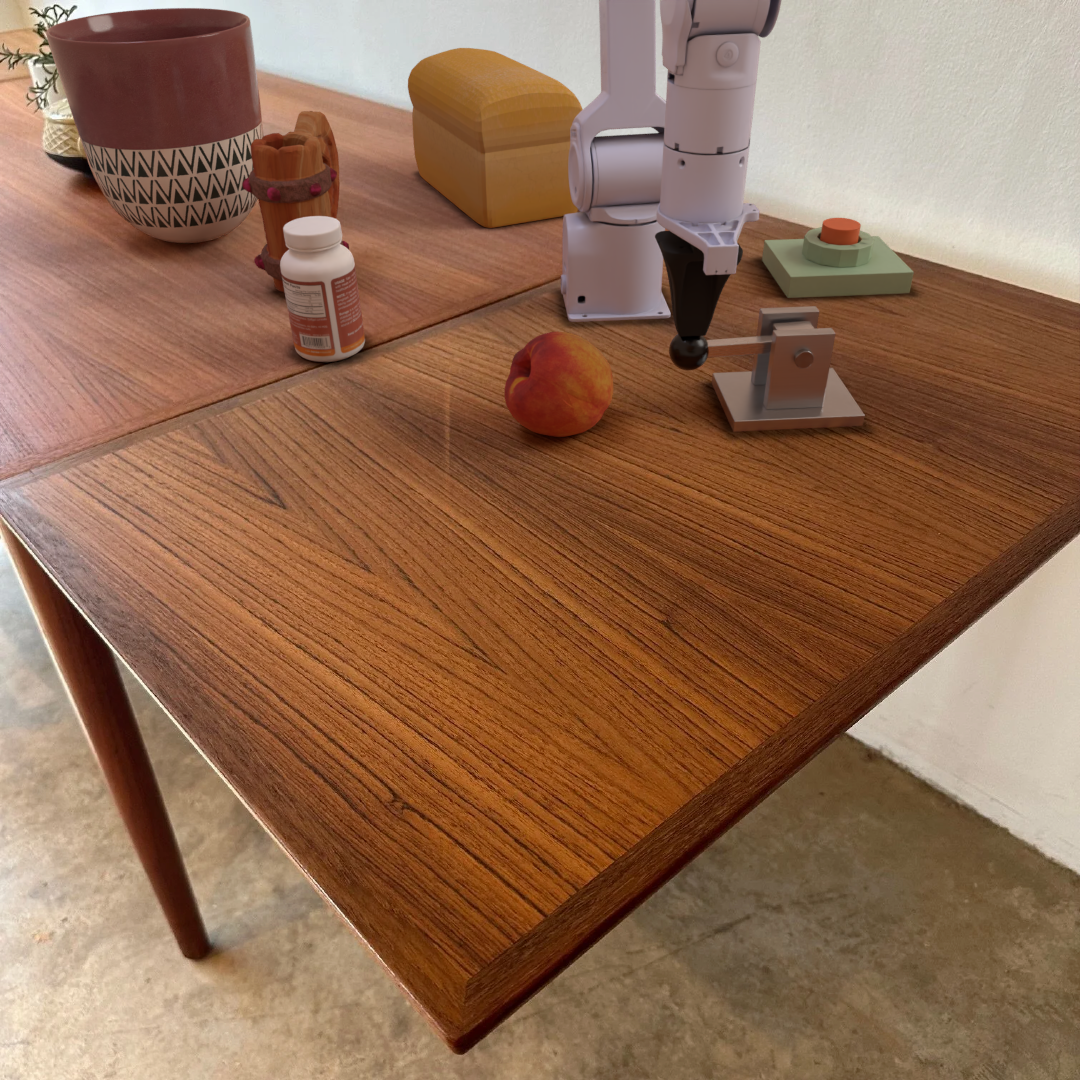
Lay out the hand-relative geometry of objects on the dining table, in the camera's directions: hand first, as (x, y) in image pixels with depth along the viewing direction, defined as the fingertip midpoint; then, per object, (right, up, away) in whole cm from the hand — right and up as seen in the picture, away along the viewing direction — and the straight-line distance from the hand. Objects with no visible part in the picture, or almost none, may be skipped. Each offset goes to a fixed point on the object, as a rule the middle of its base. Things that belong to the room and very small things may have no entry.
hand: (690, 332), depth 75 cm
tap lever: (+4, -2, +2) cm, 5 cm away
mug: (-34, +11, +27) cm, 45 cm away
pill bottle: (-30, +1, +14) cm, 33 cm away
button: (+18, +14, +24) cm, 33 cm away
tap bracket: (+8, -5, +4) cm, 10 cm away
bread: (-17, +27, +49) cm, 59 cm away
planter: (-50, +19, +38) cm, 65 cm away
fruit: (-10, -7, +2) cm, 12 cm away
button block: (+18, +11, +26) cm, 33 cm away
